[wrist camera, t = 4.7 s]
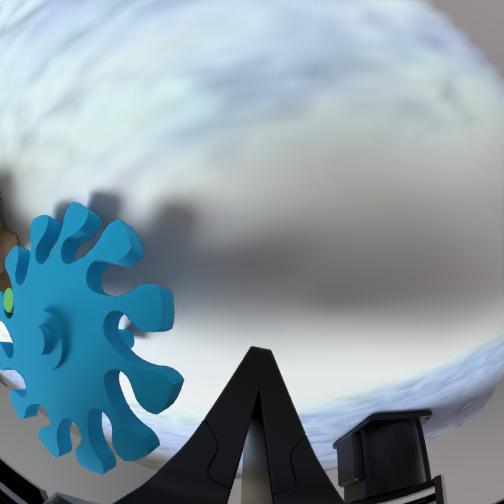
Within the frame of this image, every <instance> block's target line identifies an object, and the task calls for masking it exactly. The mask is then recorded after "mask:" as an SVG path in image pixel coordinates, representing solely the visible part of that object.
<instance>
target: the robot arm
mask: <svg viewBox="0 0 504 504" xmlns="http://www.w3.org/2000/svg"><path fill="white" fill-rule="evenodd" d="M432 417H433V414H432V411H427V412H418V413H407V414H391V415H373V416H370V417H368V418H366V419H365V420H364V421H363V422H361V423H360V424H359V425H358V426H356V427H355V428H354V429H352V430H351V431H350V432H349V433H347V434H346V435H345V436H343V437H342V438H340V439H339V440H338V441H336V442H335V443H333V449H337V458H338V485H339V486H340V487H344V500H343V499H342V498H341V496H340V495H339V493H338V492H337V490H336V489H335V487H334V486H333V484H332V482H331V481H330V479H329V477H328V476H327V474H326V473H325V471H324V469H323V468H322V466H321V464H320V462H319V461H318V459H317V457H316V455H315V453H314V451H313V449H312V447H311V444H310V442H309V440H308V437H307V435H305V434H306V433H305V431H304V428H303V426H302V423H301V421H300V419H299V416H298V414H297V412H296V409H295V407H294V404H293V402H292V400H291V397H290V395H289V392H288V390H287V387H286V385H285V383H284V380H283V378H282V375H281V373H280V370H279V368H278V365H277V363H276V360H275V358H274V356H273V353H272V351H271V350H270V349H265V348H260V347H255V346H251V347H250V348H249V350H248V352H247V353H246V355H245V356H244V358H243V360H242V361H241V363H240V364H239V366H238V368H237V369H236V371H235V372H234V374H233V376H232V377H231V379H230V380H229V382H228V383H227V385H226V386H225V388H224V390H223V391H222V393H221V394H220V396H219V397H218V399H217V400H216V402H215V403H214V405H213V406H212V408H211V409H210V411H209V412H208V414H207V415H206V417H205V418H204V420H203V421H202V422H201V424H200V425H199V427H198V428H197V430H196V431H195V432H194V434H193V435H192V436H191V438H190V439H189V440H188V441H187V442H186V444H185V445H184V446H183V447H182V448H181V449H180V450H179V451H178V452H177V453H176V454H175V455H174V456H173V457H172V458H171V459H170V460H169V461H168V462H167V463H166V464H165V465H164V466H163V467H162V468H161V469H160V470H159V471H158V472H157V473H156V474H155V475H154V476H153V477H151V478H150V479H149V480H148V481H146V482H145V483H144V484H143V485H141V486H140V487H138V488H137V489H135V490H134V491H132V492H131V493H129V494H127V495H126V496H124V497H123V498H121V499H119V500H118V501H116V502H115V503H113V504H227V503H228V499H229V496H230V492H231V491H230V490H231V489H232V486H233V483H234V479H235V476H236V472H237V469H238V466H239V462H240V459H241V455H242V452H243V469H242V490H241V503H242V504H386V503H390V502H394V501H397V500H401V499H404V498H407V497H410V496H413V495H416V494H419V493H422V492H425V491H428V490H430V489H433V488H435V493H433V494H431V495H428V496H425V497H422V498H420V499H417V500H414V501H410V502H407V503H404V504H435V503H436V504H447V498H446V490H445V483H444V477H443V476H442V475H438V476H436V477H434V479H432V480H431V474H430V467H429V461H428V455H427V450H426V445H425V440H424V435H423V430H422V426H421V425H422V424H424V423H425V422H426V421H428V420H429V419H430V418H432ZM243 448H244V449H243ZM0 504H98V503H94V502H90V501H86V500H82V499H79V498H75V497H72V496H68V495H65V494H62V493H59V492H55V493H54V494H53V495H52V496H51V497H50V498H49V497H48V496H47V493H46V491H45V490H43V489H42V488H40V487H39V486H37V485H36V484H34V483H33V482H32V481H30V480H29V479H27V478H26V477H25V476H23V475H22V474H21V473H19V472H18V471H17V470H16V469H14V468H13V467H12V466H11V465H9V464H8V463H7V462H6V461H5V460H3V459H2V458H1V457H0ZM492 504H504V498H503V499H501V500H499V501H497V502H495V503H492Z"/></svg>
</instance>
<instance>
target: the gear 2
mask: <svg viewBox="0 0 504 504" xmlns="http://www.w3.org/2000/svg"><path fill="white" fill-rule="evenodd" d="M101 222H102V220H101V218H100V217H99V216H98V215H97V214H96V213H94V212H93V211H91V210H89V209H88V208H86V207H85V206H83V205H81V204H79V203H76V202H72V203H71V204H70V206H69V207H68V209H67V211H66V213H65V216H64V221H63V225H62V229H61V222H59V221H57V220H55V219H53V218H52V217H50V216H48V215H41V216H39V217H37V218H35V219H33V221H32V224H31V227H30V239H31V251H29V250H27V249H25V248H22V247H19V246H17V245H16V246H15V247H13V249H12V250H11V251H10V252H9V254H8V255H7V257H6V259H5V268H6V271H7V273H8V275H9V277H10V280H11V284H12V289H11V288H7V289H6V291H5V292H3V291H0V321H2V322H3V323H4V325H5V326H6V328H7V330H8V332H9V334H10V337H11V339H12V342H13V343H11V342H0V370H15V371H17V372H18V373H19V374H20V375H21V376H22V378H23V380H24V382H25V385H26V389H20V390H12V391H11V393H10V397H11V401H12V404H13V406H14V408H15V411H16V413H17V414H18V416H19V418H20V419H24V418H29V417H33V416H36V415H37V412H38V409H39V406H40V405H42V406H43V407H44V408H45V409H46V411H47V413H48V415H49V418H50V422H51V424H50V426H48V427H44V428H41V429H40V430H39V432H38V434H39V439H40V440H41V442H42V443H43V444H44V446H45V447H46V448H47V449H48V450H49V451H50V452H51V453H52V454H53V455H54V456H55V457H59V456H61V455H64V454H66V453H69V452H70V451H71V450H72V443H71V439H70V427H71V424H72V422H74V423H75V424H76V426H77V427H78V429H79V431H80V433H81V438H82V440H81V443H80V444H79V445H78V447H77V448H76V457H77V459H78V461H79V463H80V465H82V466H83V467H85V468H86V469H89V470H90V471H93V472H96V473H99V474H104V473H106V472H107V471H109V470H111V469H112V468H114V467H115V466H116V459H115V456H114V454H113V452H112V451H111V449H110V447H109V446H108V444H107V442H106V439H105V437H104V434H103V429H102V412H104V413H105V414H106V416H107V417H108V418H109V420H110V422H111V425H112V444H113V447H114V449H115V451H116V453H117V454H118V455H119V456H120V457H121V458H122V459H123V460H124V461H135V460H138V459H141V458H143V457H145V456H146V455H148V454H150V453H151V452H152V451H153V450H155V449H156V448H157V447H158V446H159V445H160V442H159V439H158V437H157V435H156V434H155V432H154V431H153V430H152V429H151V428H149V427H148V426H147V425H145V424H144V423H143V422H142V421H141V420H139V419H138V418H137V417H136V415H135V414H134V413H133V412H132V410H131V409H130V407H129V405H128V404H127V402H126V400H125V397H124V395H123V392H122V389H121V386H120V383H119V373H120V371H122V372H123V373H124V374H125V375H126V376H127V378H128V379H129V381H130V383H131V386H132V389H133V392H134V395H135V397H136V399H137V401H138V403H139V404H140V405H141V406H142V407H143V408H144V409H145V410H146V411H148V412H150V413H152V414H159V413H160V412H162V411H164V410H165V409H167V408H168V407H170V406H171V405H172V404H173V403H174V402H175V400H176V399H177V397H178V395H179V393H180V391H181V388H182V385H183V382H184V378H183V377H182V375H181V374H180V373H179V372H178V371H177V370H175V369H173V368H171V367H168V366H160V365H156V364H152V363H149V362H147V361H145V360H143V359H142V358H140V357H139V356H137V355H136V354H135V353H134V352H133V351H132V350H131V348H132V347H133V345H134V336H133V334H132V332H130V331H129V330H126V329H118V325H119V321H120V319H121V317H122V316H123V315H124V314H125V315H126V316H127V317H128V318H129V320H130V321H131V322H132V323H133V324H134V325H135V326H136V327H137V328H138V329H140V330H141V331H145V332H164V331H168V330H170V329H172V327H173V323H174V313H175V312H174V300H173V292H172V291H171V290H169V289H168V288H164V287H161V286H158V285H154V284H150V283H149V284H143V285H140V286H139V287H137V288H136V289H134V290H133V291H131V292H129V293H127V294H125V295H121V296H110V295H108V294H106V293H105V292H104V290H103V288H102V285H101V278H102V275H103V272H104V271H105V269H106V268H107V267H109V266H111V265H119V266H123V267H132V266H134V265H136V264H137V263H139V262H140V261H141V259H142V258H143V256H144V251H143V247H142V244H141V241H140V239H139V237H138V235H137V234H136V232H135V231H134V229H133V228H132V227H130V226H129V225H127V224H126V223H124V222H122V221H121V220H116V221H114V222H112V223H110V224H109V225H108V226H107V227H106V229H105V230H104V232H103V233H102V235H101V237H100V239H99V240H98V242H97V243H96V245H95V246H94V247H93V248H92V249H91V251H90V252H89V253H87V254H86V255H85V256H84V257H82V258H81V259H79V260H77V261H75V256H76V252H77V249H78V247H79V246H80V245H81V244H82V243H84V242H85V241H87V240H89V239H91V238H92V237H94V236H95V235H96V233H97V232H98V230H99V228H100V226H101ZM55 243H56V245H55ZM54 245H55V247H54V248H53V246H54ZM52 248H53V250H52V252H51V249H52ZM50 252H51V254H50Z"/></svg>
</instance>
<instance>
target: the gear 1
mask: <svg viewBox="0 0 504 504" xmlns="http://www.w3.org/2000/svg"><path fill="white" fill-rule="evenodd" d="M0 198H1V193H0ZM16 245H17V246H19V243H18V239H17V234H14V233H11V232H9V231H6V230H5V227H4V224H3V221H2V218H1V216H0V291H3V292H5V291H6V289H7V288H11V289H12V284H11V280H10V277H9V275H8V273H7V271H6V268H5V259H6V257H7V255H8V254H9V252H10V251H11V250H12V249H13V247H15V246H16Z"/></svg>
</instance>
